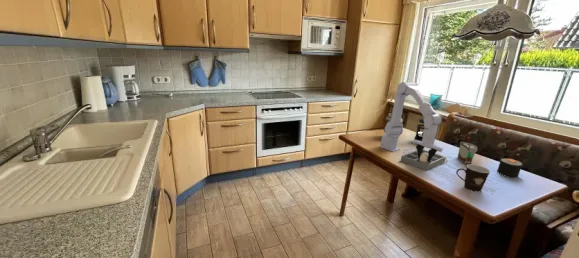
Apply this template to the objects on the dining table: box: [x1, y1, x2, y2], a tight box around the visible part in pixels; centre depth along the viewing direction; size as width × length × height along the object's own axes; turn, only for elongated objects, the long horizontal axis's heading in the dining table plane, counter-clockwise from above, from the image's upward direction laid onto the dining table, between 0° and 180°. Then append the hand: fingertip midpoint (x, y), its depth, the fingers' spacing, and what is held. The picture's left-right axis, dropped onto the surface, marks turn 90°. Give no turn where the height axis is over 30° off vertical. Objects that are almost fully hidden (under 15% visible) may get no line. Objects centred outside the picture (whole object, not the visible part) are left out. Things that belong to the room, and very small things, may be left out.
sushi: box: [496, 158, 523, 178], centre depth 130 cm, size 8×8×8 cm
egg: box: [419, 152, 429, 164], centre depth 134 cm, size 4×4×6 cm
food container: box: [457, 141, 478, 165], centre depth 144 cm, size 12×6×10 cm, turn 168°
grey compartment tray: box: [400, 149, 447, 171], centre depth 142 cm, size 15×22×3 cm
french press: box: [413, 117, 425, 141], centre depth 172 cm, size 12×9×23 cm
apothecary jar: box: [383, 112, 404, 133], centre depth 180 cm, size 12×12×18 cm
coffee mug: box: [455, 163, 491, 193], centre depth 114 cm, size 12×9×10 cm
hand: (424, 159), depth 135 cm, fingers closed on egg, 4 cm apart
